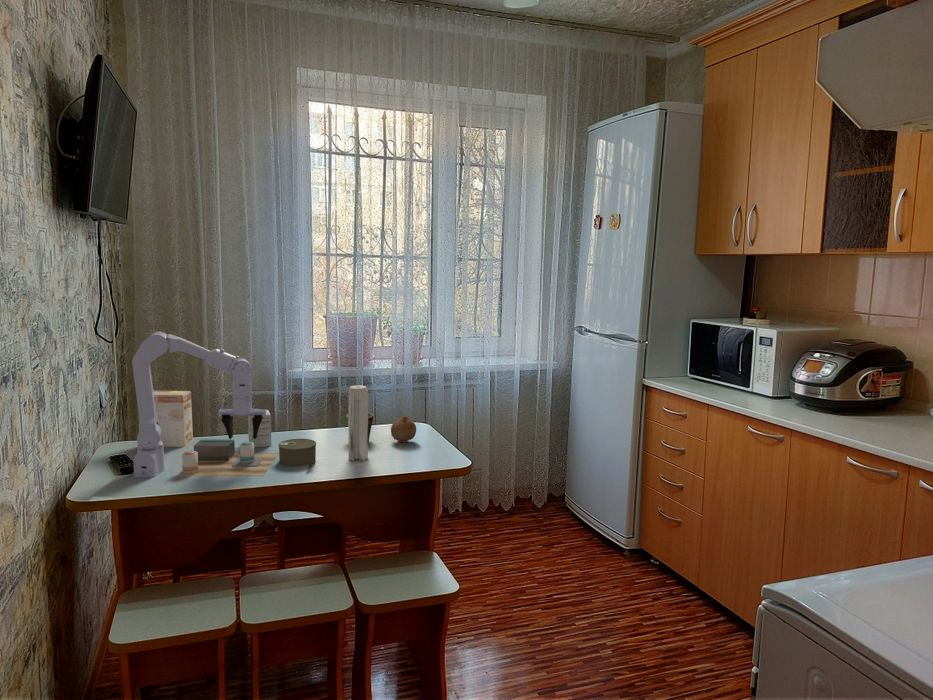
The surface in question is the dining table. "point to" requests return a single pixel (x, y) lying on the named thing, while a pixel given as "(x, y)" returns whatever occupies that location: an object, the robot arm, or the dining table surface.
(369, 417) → the ceramic cup
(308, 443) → the can
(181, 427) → the coffeecake box
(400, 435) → the onion
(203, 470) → the board
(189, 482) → the dining table surface
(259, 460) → the mat
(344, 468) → the dining table surface
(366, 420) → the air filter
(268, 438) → the supplement box
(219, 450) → the box
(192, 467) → the cylinder
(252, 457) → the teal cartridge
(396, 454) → the dining table surface
